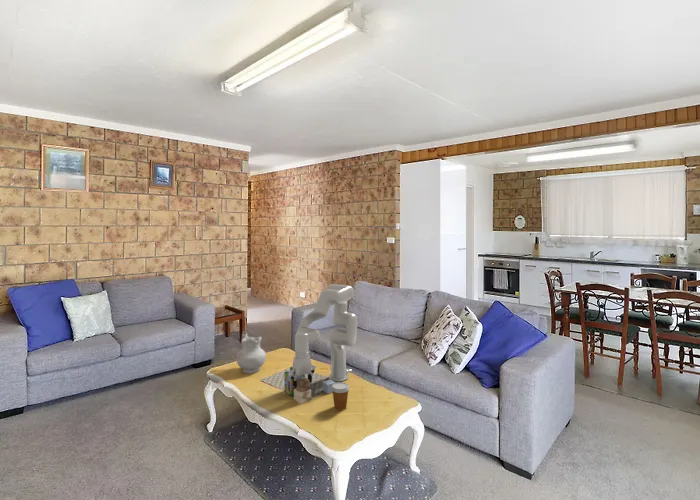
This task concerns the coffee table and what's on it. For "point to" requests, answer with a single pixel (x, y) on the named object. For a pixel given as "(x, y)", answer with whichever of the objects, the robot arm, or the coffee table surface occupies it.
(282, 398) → the coffee table surface
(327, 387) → the slate-blue block
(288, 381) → the chalk box
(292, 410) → the coffee table surface
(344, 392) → the disposable coffee cup
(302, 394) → the maple block
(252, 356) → the ceramic pitcher
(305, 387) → the walnut block
